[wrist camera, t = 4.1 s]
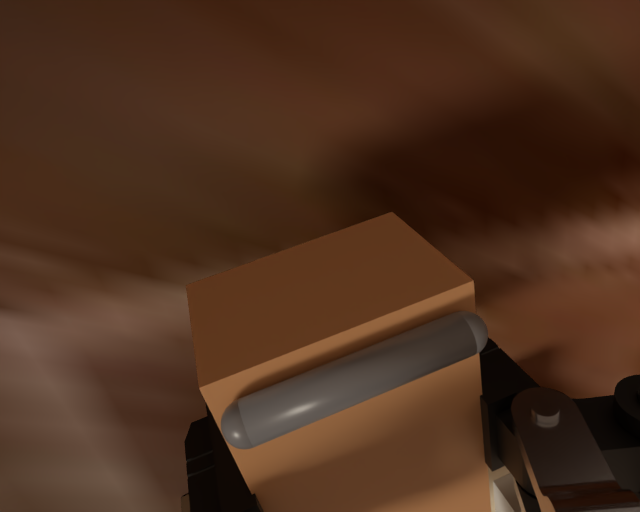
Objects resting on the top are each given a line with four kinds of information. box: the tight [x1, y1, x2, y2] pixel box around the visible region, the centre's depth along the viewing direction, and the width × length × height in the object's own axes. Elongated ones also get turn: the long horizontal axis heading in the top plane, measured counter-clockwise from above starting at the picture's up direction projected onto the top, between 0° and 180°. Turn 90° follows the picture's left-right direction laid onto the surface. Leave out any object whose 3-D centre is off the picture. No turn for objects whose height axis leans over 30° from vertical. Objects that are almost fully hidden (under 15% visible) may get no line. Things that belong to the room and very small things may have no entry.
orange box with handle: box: [186, 212, 491, 512], centre depth 12 cm, size 8×5×5 cm, turn 12°
